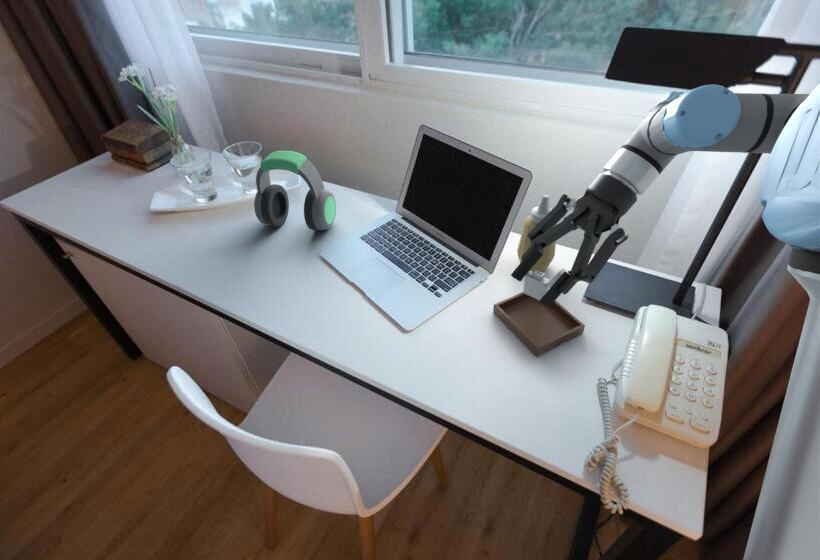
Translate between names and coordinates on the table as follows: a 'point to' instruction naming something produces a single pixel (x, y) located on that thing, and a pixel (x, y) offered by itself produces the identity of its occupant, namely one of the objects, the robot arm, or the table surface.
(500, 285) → the table surface
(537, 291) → the lighter
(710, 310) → the table surface
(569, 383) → the table surface
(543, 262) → the squeeze bottle
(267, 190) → the headphones
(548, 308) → the tray
